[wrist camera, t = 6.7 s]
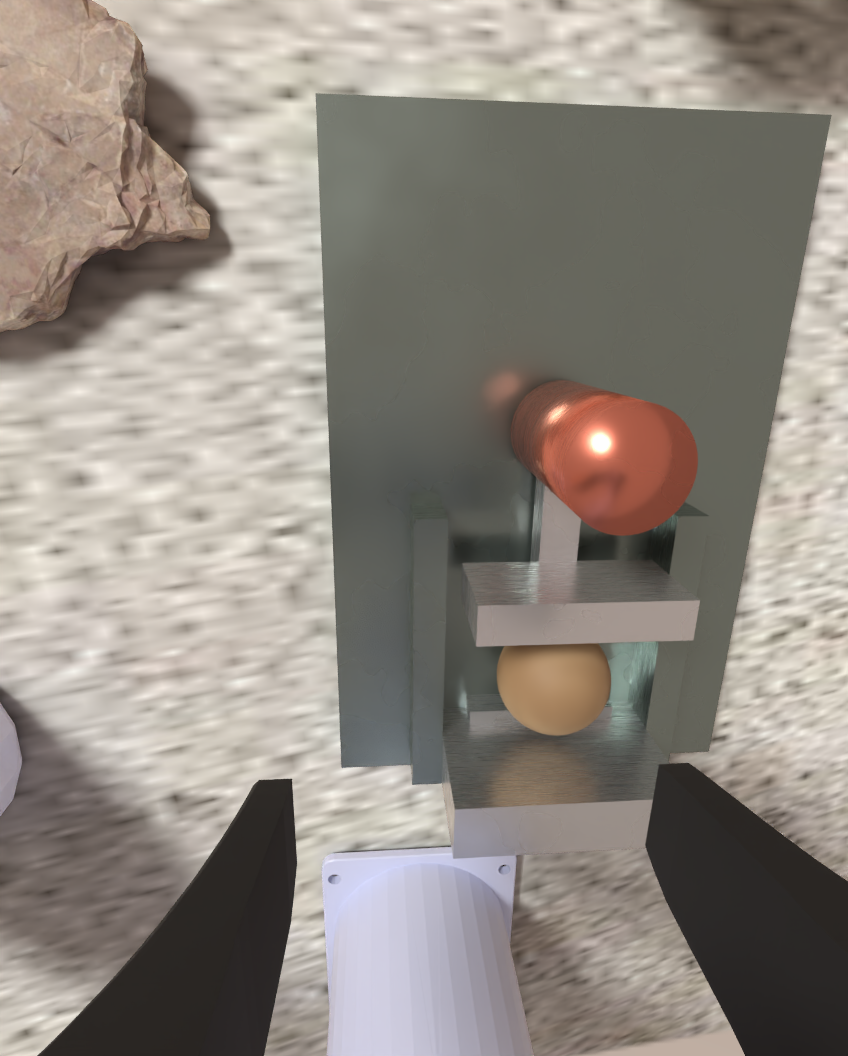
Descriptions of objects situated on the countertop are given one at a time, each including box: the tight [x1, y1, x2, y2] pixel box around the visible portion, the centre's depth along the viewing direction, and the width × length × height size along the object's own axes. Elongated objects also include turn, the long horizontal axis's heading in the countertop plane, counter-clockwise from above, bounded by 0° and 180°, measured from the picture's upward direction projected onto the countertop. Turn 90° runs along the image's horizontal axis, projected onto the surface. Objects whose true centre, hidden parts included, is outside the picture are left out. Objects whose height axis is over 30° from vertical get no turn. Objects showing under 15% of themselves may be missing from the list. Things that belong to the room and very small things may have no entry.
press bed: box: [316, 93, 831, 859], centre depth 18 cm, size 21×14×6 cm, turn 179°
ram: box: [461, 380, 700, 647], centre depth 16 cm, size 7×6×6 cm
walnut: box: [497, 643, 611, 736], centre depth 19 cm, size 4×4×4 cm
